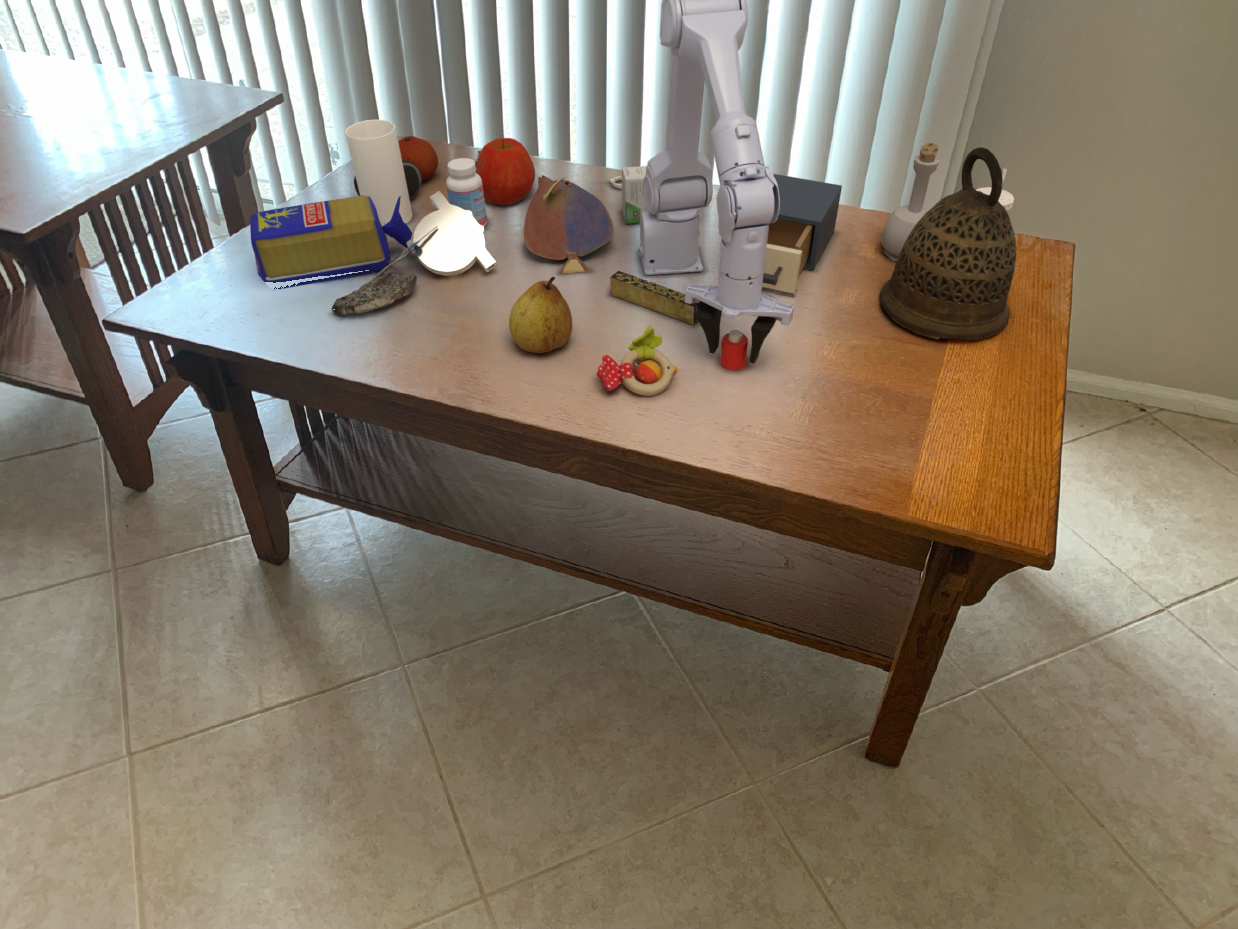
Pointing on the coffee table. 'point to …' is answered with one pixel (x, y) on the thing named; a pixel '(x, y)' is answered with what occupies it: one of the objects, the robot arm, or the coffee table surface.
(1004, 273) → the bell
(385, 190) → the cup
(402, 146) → the fruit
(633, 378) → the bird rattle
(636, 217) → the ink box
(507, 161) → the apple
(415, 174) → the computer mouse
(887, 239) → the potion bottle
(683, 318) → the decorative block
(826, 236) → the cabinet
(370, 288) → the stone
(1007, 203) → the smoothie
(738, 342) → the red cylinder
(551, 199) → the fish
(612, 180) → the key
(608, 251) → the coffee table surface
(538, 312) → the fruit
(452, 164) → the pill bottle
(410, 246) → the scissors
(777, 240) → the drawer
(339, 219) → the bread
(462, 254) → the tabbed white plastic disc
